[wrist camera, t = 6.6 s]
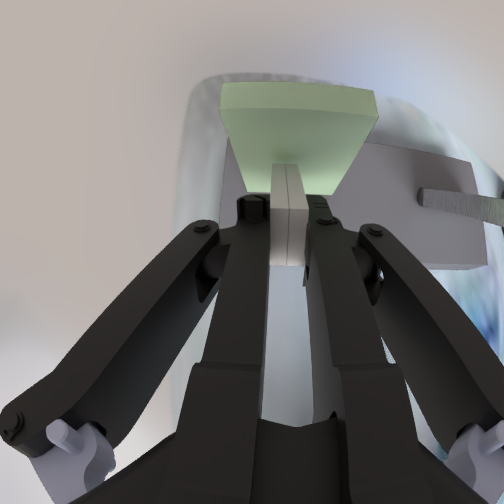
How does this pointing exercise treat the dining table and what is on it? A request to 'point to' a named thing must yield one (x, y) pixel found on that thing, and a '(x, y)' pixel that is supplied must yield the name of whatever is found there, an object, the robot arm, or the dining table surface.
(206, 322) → the dining table surface
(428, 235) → the panel
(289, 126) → the pale green flat slab
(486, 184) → the dining table surface
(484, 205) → the light grey rectangular slab
